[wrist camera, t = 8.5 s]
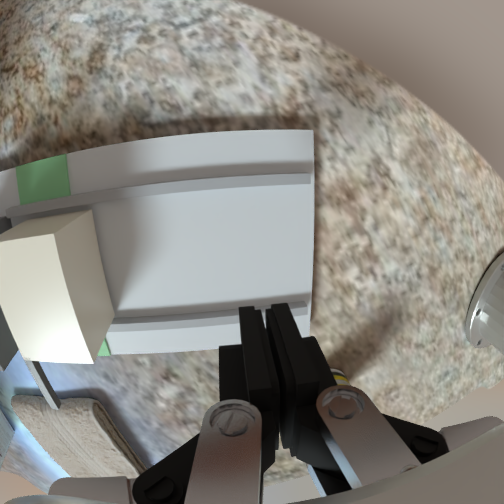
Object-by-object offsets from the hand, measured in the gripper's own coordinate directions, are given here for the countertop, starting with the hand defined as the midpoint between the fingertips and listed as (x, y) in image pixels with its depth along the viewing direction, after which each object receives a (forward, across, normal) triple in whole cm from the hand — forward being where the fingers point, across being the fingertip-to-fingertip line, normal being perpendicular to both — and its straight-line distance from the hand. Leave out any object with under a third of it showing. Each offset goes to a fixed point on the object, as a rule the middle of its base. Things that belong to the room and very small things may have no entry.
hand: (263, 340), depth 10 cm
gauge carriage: (+8, +11, 0) cm, 14 cm away
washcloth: (+10, +19, +22) cm, 30 cm away
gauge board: (+9, +7, 0) cm, 12 cm away
